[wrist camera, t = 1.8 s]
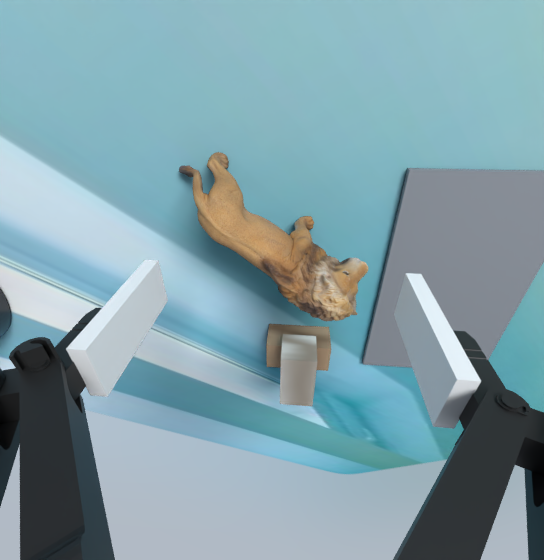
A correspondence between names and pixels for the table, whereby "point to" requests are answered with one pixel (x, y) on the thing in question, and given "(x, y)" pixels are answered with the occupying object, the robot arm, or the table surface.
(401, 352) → the gray mat
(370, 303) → the table surface
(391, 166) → the table surface
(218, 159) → the lion figurine
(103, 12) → the table surface
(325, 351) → the brick stack
